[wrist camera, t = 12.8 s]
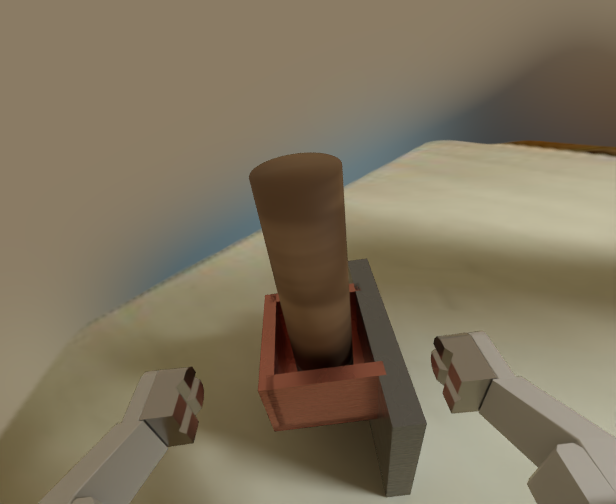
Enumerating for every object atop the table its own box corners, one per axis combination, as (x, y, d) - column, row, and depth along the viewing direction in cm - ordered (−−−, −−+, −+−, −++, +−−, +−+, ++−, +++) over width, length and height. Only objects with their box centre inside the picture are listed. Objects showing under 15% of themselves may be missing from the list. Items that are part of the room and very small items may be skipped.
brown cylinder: (310, 337, 23) (276, 151, 14) (360, 351, 21) (354, 153, 13) (288, 383, 20) (230, 186, 12) (343, 402, 19) (321, 193, 10)
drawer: (410, 494, 19) (426, 423, 13) (288, 508, 19) (253, 444, 14) (367, 337, 29) (366, 258, 23) (286, 348, 29) (266, 272, 23)
